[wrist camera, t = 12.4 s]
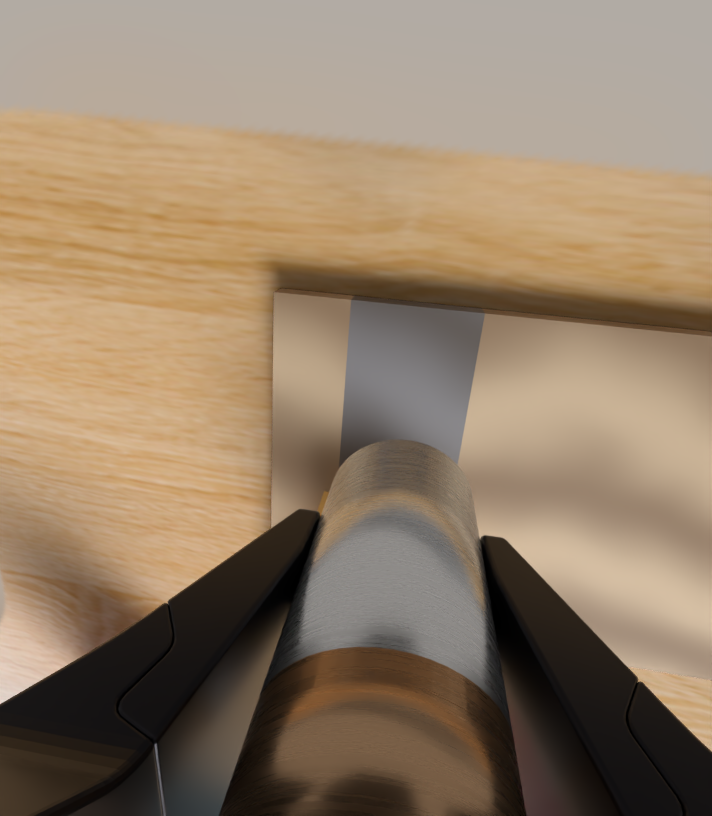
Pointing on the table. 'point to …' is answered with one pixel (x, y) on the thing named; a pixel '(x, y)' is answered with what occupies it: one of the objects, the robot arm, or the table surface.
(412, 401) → the beige flat piece
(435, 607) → the metal peg
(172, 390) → the table surface
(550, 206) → the table surface
